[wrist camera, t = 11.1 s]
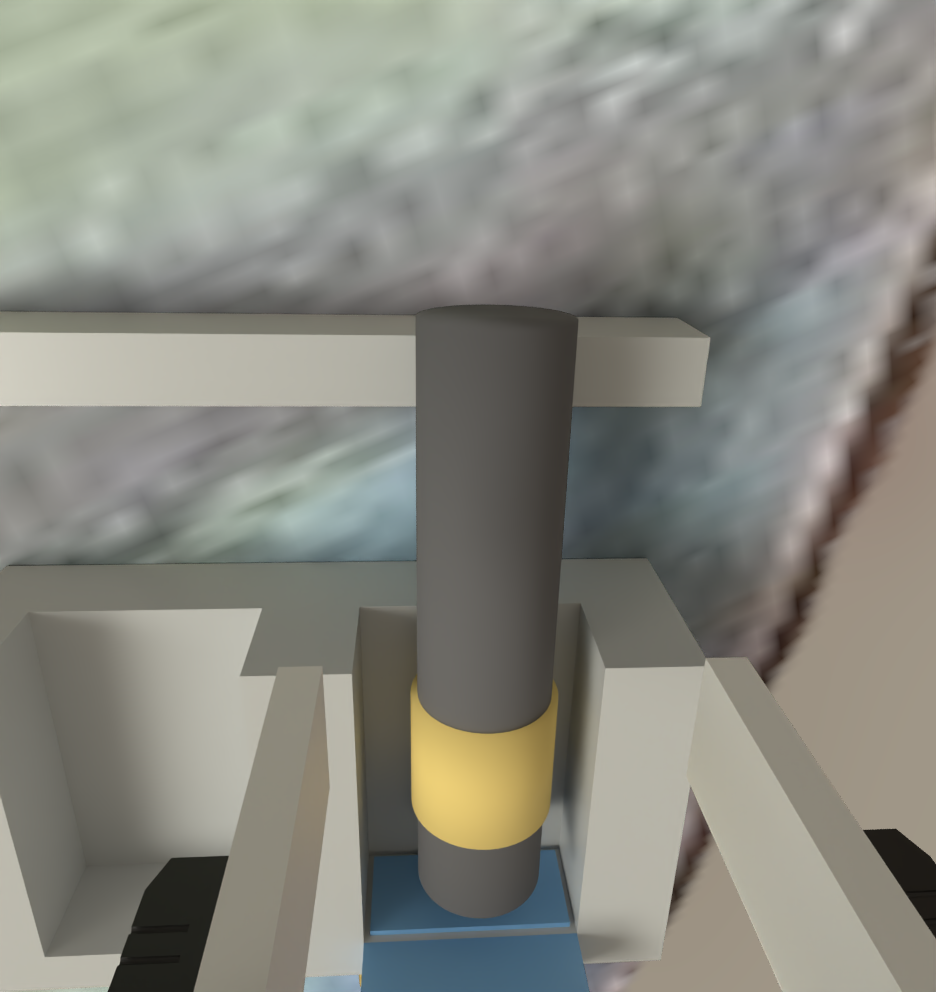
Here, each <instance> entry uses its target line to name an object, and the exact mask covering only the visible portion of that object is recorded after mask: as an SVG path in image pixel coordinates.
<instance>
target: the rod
mask: <svg viewBox="0 0 936 992" xmlns="http://www.w3.org/2000/svg"><path fill="white" fill-rule="evenodd" d="M578 322H579V320H578V318H577V317H575V316H573V315H571V314H568V313H565V312H561V311H556V310H551V309H544V308H536V307H527V306H513V305H457V306H445V307H438V308H432V309H427V310H424V311H421V312H419V313H417V314H416V316H415V336H416V540H417V674H416V676H415V678H414V679H413V682H412V685H411V692H410V694H411V799H412V806H413V809H414V812H415V814H416V816H417V818H418V873H419V878H420V882H421V884H422V886H423V888H424V890H425V891H426V893H427V894H428V896H429V897H430V898H431V899H432V900H433V901H434V902H435V903H436V904H438V905H439V906H440V907H442V908H443V909H445V910H447V911H449V912H451V913H454V914H457V915H459V916H463V917H468V918H493V917H497V916H501V915H504V914H507V913H509V912H511V911H513V910H515V909H517V908H518V907H519V906H521V905H522V904H523V903H524V902H525V901H526V900H527V899H528V898H529V897H530V896H531V894H532V893H533V891H534V889H535V887H536V884H537V881H538V877H539V864H540V850H541V836H542V824H543V823H544V821H545V819H546V818H547V815H548V813H549V809H550V801H551V788H552V775H553V762H554V748H555V735H556V722H557V709H558V689H557V686H556V684H555V681H554V680H553V669H554V656H555V642H556V628H557V614H558V600H559V586H560V572H561V558H562V544H563V530H564V517H565V503H566V489H567V475H568V461H569V447H570V433H571V419H572V405H573V391H574V378H575V364H576V350H577V336H578Z"/></svg>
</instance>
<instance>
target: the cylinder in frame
mask: <svg viewBox="0 0 936 992" xmlns="http://www.w3.org/2000/svg"><path fill="white" fill-rule="evenodd" d="M415 316H416V315H331V314H225V313H119V312H13V311H0V406H416V336H415ZM577 318H578V320H579V322H578V336H577V350H576V364H575V378H574V391H573V405H572V407H701V401H702V394H703V387H704V380H705V373H706V366H707V359H708V352H709V345H710V337H708V336H707V335H705V334H703V333H702V332H700V331H698V330H697V329H695V328H693V327H692V326H690V325H688V324H687V323H685V322H683V321H682V320H680V319H679V318H649V317H577ZM705 660H706V657H705V655H704V654H703V652H702V650H701V649H700V647H699V645H698V643H697V642H696V640H695V638H694V637H693V635H692V633H691V632H690V630H689V628H688V627H687V625H686V623H685V621H684V620H683V618H682V616H681V615H680V613H679V611H678V610H677V608H676V606H675V604H674V603H673V601H672V599H671V598H670V596H669V594H668V593H667V591H666V589H665V587H664V586H663V584H662V582H661V581H660V579H659V577H658V576H657V574H656V572H655V570H654V569H653V567H652V565H651V564H650V562H649V560H648V559H647V558H626V559H561V572H560V586H559V600H558V614H557V628H556V642H555V656H554V669H553V680H554V681H555V684H556V686H557V689H558V709H557V722H556V735H555V748H554V762H553V775H552V788H551V801H550V809H549V813H548V815H547V818H546V819H545V821H544V823H543V824H542V836H541V850H540V864H539V877H538V881H537V884H536V887H535V889H534V891H533V893H532V894H531V896H530V897H529V898H528V899H527V900H526V901H525V902H524V903H523V904H522V905H521V906H519V907H518V908H517V909H515V910H513V911H511V912H509V913H507V914H504V915H501V916H497V917H493V918H468V917H463V916H459V915H457V914H454V913H451V912H449V911H447V910H445V909H443V908H442V907H440V906H439V905H438V904H436V903H435V902H434V901H433V900H432V899H431V898H430V897H429V896H428V894H427V893H426V891H425V890H424V888H423V886H422V884H421V882H420V878H419V873H418V818H417V816H416V814H415V812H414V809H413V806H412V799H411V694H410V692H411V685H412V682H413V679H414V678H415V676H416V674H417V561H377V562H294V563H211V564H128V565H45V566H6V567H5V568H4V569H3V570H2V571H1V572H0V992H7V991H28V990H49V989H69V988H90V987H110V984H111V981H112V979H113V976H114V973H115V970H116V968H117V966H118V965H119V964H120V957H121V954H122V951H123V948H124V946H125V943H126V940H127V937H128V935H129V934H131V926H132V924H133V921H134V918H135V915H136V913H137V910H138V907H139V904H140V902H141V899H142V896H143V893H144V891H145V889H146V888H147V887H148V885H149V884H150V883H151V882H152V881H153V879H154V878H155V877H156V876H157V875H158V873H159V872H160V871H161V870H162V869H163V867H164V866H165V865H166V864H167V863H168V861H169V860H170V859H171V858H180V857H207V856H229V854H230V850H231V846H232V842H233V838H234V835H235V831H236V827H237V823H238V819H239V815H240V812H241V808H242V804H243V800H244V796H245V792H246V789H247V785H248V781H249V777H250V773H251V769H252V766H253V762H254V758H255V754H256V750H257V746H258V743H259V739H260V735H261V731H262V727H263V723H264V720H265V716H266V712H267V708H268V704H269V700H270V697H271V693H272V689H273V685H274V681H275V677H276V674H277V670H278V667H302V666H322V669H323V685H324V702H325V718H326V734H327V750H328V767H329V783H330V789H329V797H328V805H327V812H326V820H325V828H324V836H323V843H322V851H321V859H320V867H319V874H318V882H317V890H316V897H315V905H314V913H313V921H312V928H311V936H310V944H309V952H308V959H307V967H306V975H305V977H320V976H341V975H361V974H362V979H361V992H589V987H588V983H587V978H586V973H585V968H584V964H591V963H612V962H633V961H654V960H661V955H662V949H663V944H664V938H665V932H666V926H667V920H668V914H669V908H670V903H671V897H672V891H673V885H674V879H675V873H676V867H677V862H678V856H679V850H680V844H681V838H682V832H683V826H684V821H685V815H686V809H687V803H688V797H689V791H690V784H689V781H688V779H687V777H686V774H687V768H688V762H689V756H690V750H691V744H692V738H693V732H694V726H695V720H696V714H697V708H698V702H699V696H700V690H701V684H702V678H703V672H704V666H705Z"/></svg>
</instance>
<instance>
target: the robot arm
mask: <svg viewBox="0 0 936 992" xmlns="http://www.w3.org/2000/svg"><path fill="white" fill-rule="evenodd" d="M686 777H687V779H688V781H689V784H690V786H691V788H692V790H693V793H694V795H695V797H696V799H697V802H698V804H699V806H700V808H701V811H702V813H703V815H704V817H705V820H706V822H707V824H708V826H709V829H710V831H711V833H712V835H713V838H714V840H715V842H716V844H717V847H718V849H719V851H720V853H721V856H722V858H723V860H724V862H725V865H726V867H727V869H728V871H729V874H730V876H731V878H732V880H733V883H734V884H735V887H736V889H737V892H738V894H739V896H740V898H741V900H742V903H743V905H744V907H745V910H746V912H747V914H748V916H749V918H750V921H751V923H752V925H753V928H754V930H755V932H756V934H757V937H758V939H759V941H760V943H761V946H762V948H763V950H764V952H765V955H766V957H767V959H768V961H769V964H770V966H771V968H772V970H773V973H774V975H775V977H776V979H777V982H778V984H779V986H780V988H781V991H782V992H936V864H935V862H934V861H933V860H932V858H931V857H930V856H929V855H928V854H926V853H925V852H924V851H923V850H921V849H920V848H919V847H918V846H916V845H915V844H914V843H913V842H912V841H910V840H909V839H908V838H906V837H905V836H904V835H903V834H902V833H900V832H899V831H898V830H897V829H880V830H879V829H877V830H862V828H861V827H860V825H859V824H858V822H857V821H856V819H855V818H854V816H853V815H852V814H851V812H850V810H849V809H848V807H847V806H846V804H845V803H844V801H843V800H842V798H841V797H840V795H839V794H838V792H837V791H836V789H835V788H834V787H833V785H832V784H831V782H830V781H829V779H828V778H827V776H826V775H825V773H824V772H823V770H822V769H821V767H820V766H819V764H818V763H817V761H816V760H815V758H814V757H813V755H812V754H811V752H810V751H809V749H808V748H807V746H806V745H805V743H804V742H803V740H802V739H801V737H800V736H799V735H798V733H797V731H796V730H795V728H794V727H793V725H792V724H791V723H790V721H789V719H788V718H787V717H786V715H785V713H784V712H783V711H782V709H781V708H780V706H779V705H778V703H777V702H776V700H775V699H774V697H773V696H772V694H771V693H770V691H769V690H768V688H767V687H766V685H765V684H764V682H763V681H762V679H761V678H760V676H759V675H758V673H757V672H756V670H755V669H754V667H753V666H752V664H751V663H750V661H749V660H748V658H747V657H729V658H706V660H705V666H704V672H703V678H702V684H701V690H700V696H699V702H698V708H697V714H696V720H695V726H694V732H693V738H692V744H691V750H690V756H689V762H688V768H687V774H686ZM329 789H330V783H329V767H328V750H327V734H326V718H325V702H324V685H323V669H322V666H302V667H278V670H277V674H276V677H275V681H274V685H273V689H272V693H271V697H270V700H269V704H268V708H267V712H266V716H265V720H264V723H263V727H262V731H261V735H260V739H259V743H258V746H257V750H256V754H255V758H254V762H253V766H252V769H251V773H250V777H249V781H248V785H247V789H246V792H245V796H244V800H243V804H242V808H241V812H240V815H239V819H238V823H237V827H236V831H235V835H234V838H233V842H232V846H231V850H230V854H229V856H207V857H180V858H171V859H170V860H169V861H168V863H167V864H166V865H165V866H164V867H163V869H162V870H161V871H160V872H159V873H158V875H157V876H156V877H155V878H154V879H153V881H152V882H151V883H150V884H149V885H148V887H147V888H146V889H145V891H144V893H143V896H142V899H141V902H140V904H139V907H138V910H137V913H136V915H135V918H134V921H133V924H132V926H131V934H129V935H128V937H127V940H126V943H125V946H124V948H123V951H122V954H121V957H120V964H119V965H118V966H117V968H116V970H115V973H114V976H113V979H112V981H111V984H110V987H109V990H108V992H303V990H304V983H305V975H306V967H307V959H308V952H309V944H310V936H311V928H312V921H313V913H314V905H315V897H316V890H317V882H318V874H319V867H320V859H321V851H322V843H323V836H324V828H325V820H326V812H327V805H328V797H329Z"/></svg>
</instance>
